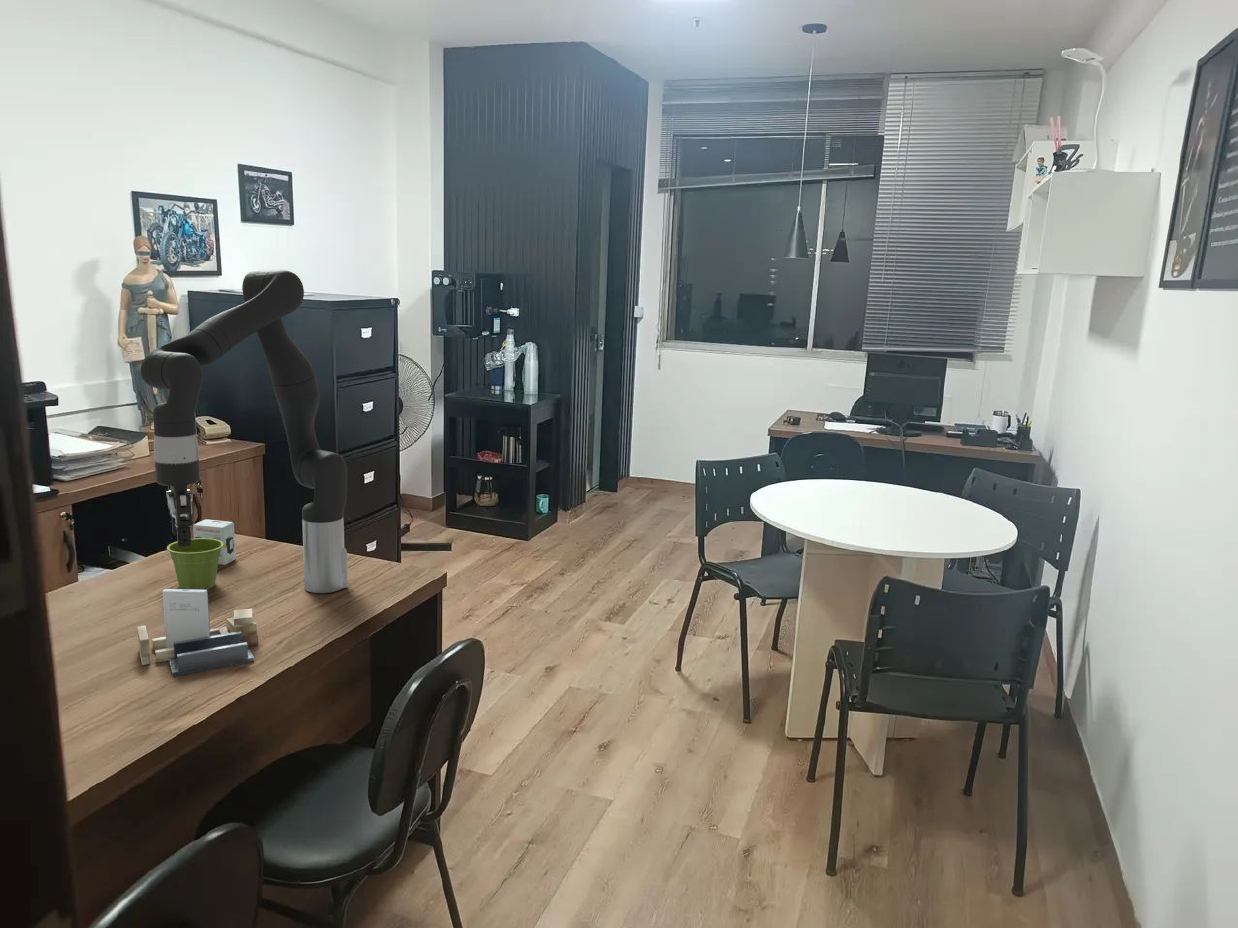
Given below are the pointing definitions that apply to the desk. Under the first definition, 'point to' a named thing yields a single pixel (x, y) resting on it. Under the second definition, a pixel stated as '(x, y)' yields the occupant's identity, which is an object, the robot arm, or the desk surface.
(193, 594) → the hard drive
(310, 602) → the desk surface
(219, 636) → the stand
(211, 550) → the plant pot
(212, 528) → the ink box
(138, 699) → the desk surface
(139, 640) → the frame
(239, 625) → the offcut stack
